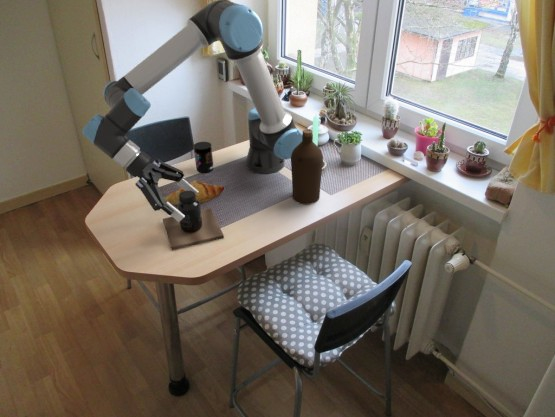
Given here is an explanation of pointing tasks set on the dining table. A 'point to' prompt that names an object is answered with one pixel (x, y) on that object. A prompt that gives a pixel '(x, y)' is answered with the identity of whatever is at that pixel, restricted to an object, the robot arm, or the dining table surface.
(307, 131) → the olive oil
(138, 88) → the robot arm
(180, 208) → the supplement bottle
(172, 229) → the brown cloth napkin
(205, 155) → the supplement container
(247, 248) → the dining table surface
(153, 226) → the dining table surface
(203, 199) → the croissant
